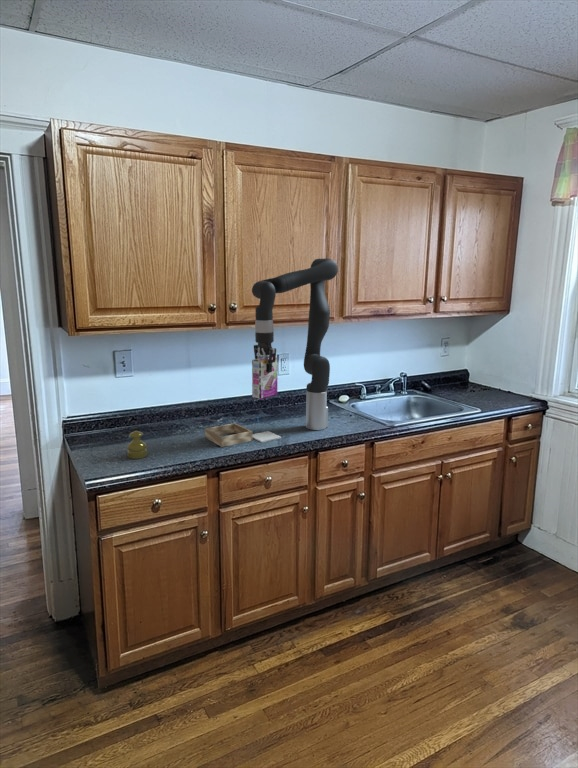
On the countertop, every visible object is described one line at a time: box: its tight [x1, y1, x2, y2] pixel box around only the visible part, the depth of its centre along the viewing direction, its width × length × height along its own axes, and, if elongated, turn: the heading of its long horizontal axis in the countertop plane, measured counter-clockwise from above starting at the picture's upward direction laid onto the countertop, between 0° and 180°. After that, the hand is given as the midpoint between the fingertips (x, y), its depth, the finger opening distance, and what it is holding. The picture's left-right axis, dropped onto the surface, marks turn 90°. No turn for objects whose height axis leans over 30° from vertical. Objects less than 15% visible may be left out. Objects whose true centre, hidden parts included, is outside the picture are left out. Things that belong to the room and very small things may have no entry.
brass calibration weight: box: [126, 430, 148, 460], centre depth 203 cm, size 7×7×10 cm
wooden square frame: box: [204, 422, 253, 448], centre depth 224 cm, size 15×15×4 cm
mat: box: [252, 430, 282, 443], centre depth 227 cm, size 10×10×1 cm
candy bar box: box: [251, 357, 279, 400], centre depth 221 cm, size 11×5×16 cm, turn 140°
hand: (265, 370), depth 220 cm, fingers closed on candy bar box, 5 cm apart
